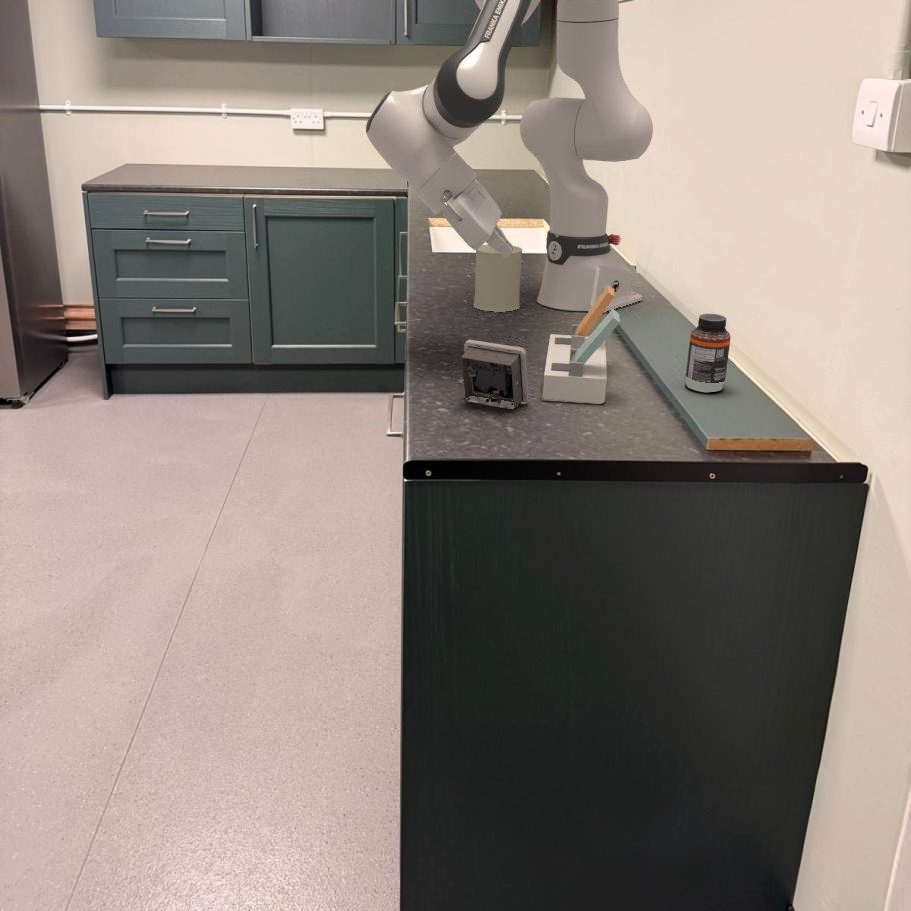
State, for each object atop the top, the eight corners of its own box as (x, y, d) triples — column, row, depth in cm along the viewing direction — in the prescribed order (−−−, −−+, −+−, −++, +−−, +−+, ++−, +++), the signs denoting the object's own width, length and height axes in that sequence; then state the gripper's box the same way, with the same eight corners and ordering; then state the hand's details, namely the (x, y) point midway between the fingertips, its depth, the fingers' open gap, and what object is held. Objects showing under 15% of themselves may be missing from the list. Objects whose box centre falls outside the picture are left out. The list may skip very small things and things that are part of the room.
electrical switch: (529, 404, 141) (531, 344, 136) (516, 418, 137) (517, 356, 132) (471, 393, 144) (470, 335, 140) (456, 407, 140) (455, 347, 136)
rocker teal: (569, 368, 141) (612, 317, 137) (570, 357, 146) (612, 308, 142) (576, 374, 141) (620, 323, 137) (577, 363, 146) (619, 313, 142)
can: (473, 311, 188) (475, 250, 184) (473, 300, 197) (475, 241, 192) (520, 313, 188) (523, 251, 184) (519, 301, 197) (522, 242, 192)
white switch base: (542, 401, 142) (544, 361, 139) (550, 347, 167) (552, 313, 165) (604, 405, 141) (608, 365, 138) (602, 350, 166) (605, 316, 164)
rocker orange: (571, 342, 154) (607, 292, 150) (572, 333, 158) (607, 284, 155) (578, 346, 154) (615, 297, 150) (579, 337, 158) (614, 289, 155)
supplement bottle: (695, 379, 153) (704, 309, 149) (730, 388, 150) (740, 316, 145) (677, 388, 149) (685, 316, 144) (713, 397, 145) (723, 324, 141)
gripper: (454, 182, 139) (520, 254, 142) (471, 164, 157) (528, 227, 160) (424, 213, 141) (488, 282, 144) (443, 191, 160) (500, 253, 163)
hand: (510, 253), depth 152 cm, fingers closed
